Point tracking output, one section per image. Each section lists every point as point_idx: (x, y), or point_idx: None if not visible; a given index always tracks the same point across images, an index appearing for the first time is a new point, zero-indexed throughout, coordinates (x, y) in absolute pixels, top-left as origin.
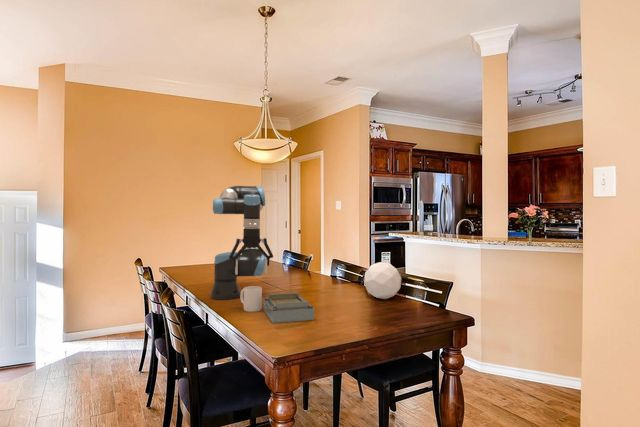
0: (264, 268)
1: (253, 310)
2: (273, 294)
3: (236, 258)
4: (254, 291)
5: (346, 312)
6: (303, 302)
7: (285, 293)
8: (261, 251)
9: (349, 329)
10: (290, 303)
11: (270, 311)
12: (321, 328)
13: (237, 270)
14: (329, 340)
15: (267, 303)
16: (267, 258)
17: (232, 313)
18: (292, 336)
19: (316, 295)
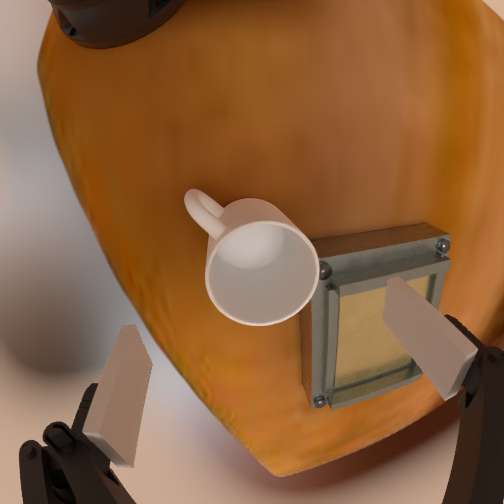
0: (405, 296)
1: (253, 274)
2: (359, 291)
3: (117, 483)
4: (270, 319)
5: (482, 288)
6: (407, 382)
7: (409, 273)
8: (450, 487)
9: (425, 393)
10: (372, 395)
11: (308, 380)
12: (389, 398)
13: (146, 389)
14: (370, 436)
15: (313, 335)
16: (465, 397)
17: (168, 286)
18: (322, 435)
19: (478, 73)
